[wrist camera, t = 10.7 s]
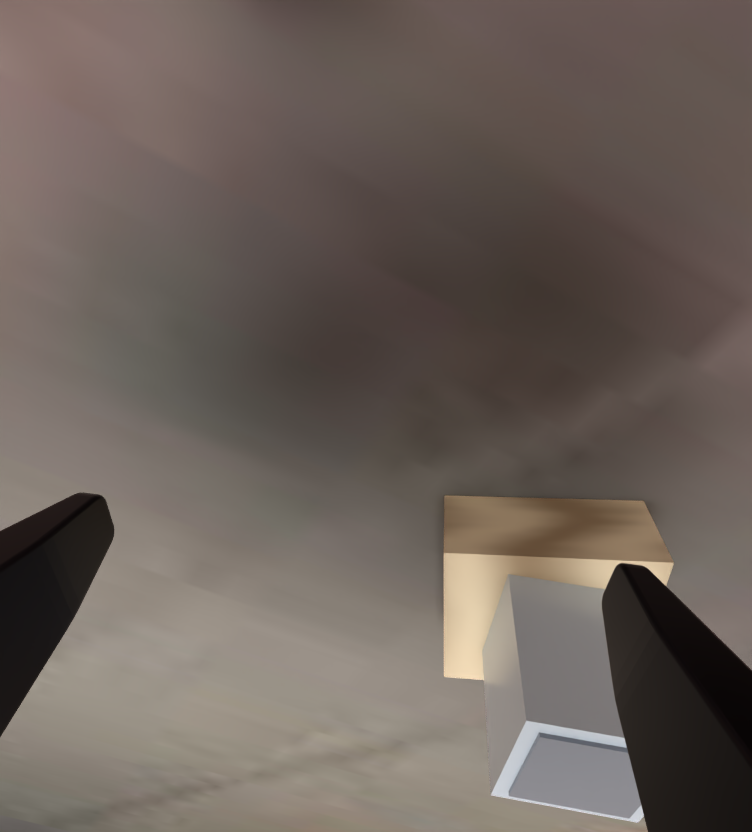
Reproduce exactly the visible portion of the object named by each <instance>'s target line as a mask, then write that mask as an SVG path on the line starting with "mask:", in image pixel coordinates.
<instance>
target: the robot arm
mask: <svg viewBox="0 0 752 832" xmlns="http://www.w3.org/2000/svg"><path fill="white" fill-rule="evenodd" d="M113 537H114V525H113V522H112V519H111V516H110V512H109V509H108V506H107V503H106V500H105V498H104V497H103V496H101V495H98V494H90V493H77V494H74V495H72V496H70V497H68V498H66V499H64V500H62V501H60V502H58V503H56V504H54V505H52V506H50V507H48V508H46V509H44V510H42V511H40V512H38V513H36V514H34V515H32V516H30V517H28V518H26V519H24V520H22V521H20V522H18V523H16V524H14V525H12V526H10V527H8V528H5V529H3V530H1V531H0V737H1V735H2V733H3V732H4V730H5V729H6V727H7V725H8V724H9V722H10V721H11V719H12V717H13V716H14V714H15V713H16V711H17V709H18V708H19V706H20V704H21V703H22V701H23V700H24V698H25V696H26V695H27V693H28V692H29V690H30V688H31V687H32V685H33V684H34V682H35V680H36V679H37V677H38V675H39V674H40V672H41V671H42V669H43V667H44V666H45V664H46V663H47V661H48V659H49V658H50V656H51V655H52V653H53V651H54V650H55V648H56V647H57V645H58V643H59V642H60V640H61V638H62V637H63V635H64V634H65V632H66V630H67V629H68V627H69V625H70V624H71V622H72V620H73V619H74V617H75V615H76V613H77V611H78V609H79V607H80V605H81V603H82V601H83V599H84V597H85V595H86V593H87V591H88V589H89V587H90V585H91V583H92V581H93V579H94V577H95V575H96V573H97V571H98V569H99V567H100V565H101V563H102V561H103V559H104V557H105V555H106V553H107V551H108V549H109V547H110V545H111V542H112V540H113ZM602 613H603V620H604V628H605V635H606V642H607V649H608V656H609V663H610V670H611V677H612V684H613V690H614V696H615V702H616V706H617V710H618V715H619V719H620V723H621V727H622V731H623V735H624V739H625V743H626V747H627V751H628V755H629V758H630V762H631V766H632V770H633V774H634V778H635V782H636V786H637V790H638V794H639V798H640V802H641V806H642V810H643V814H644V818H645V822H646V826H647V830H648V832H752V670H751V669H750V668H749V667H748V666H747V665H746V664H745V663H744V662H743V661H742V660H741V659H740V658H739V657H738V656H737V655H736V654H735V653H734V652H733V651H732V650H731V649H729V648H728V647H727V646H726V645H725V644H724V643H723V642H722V641H721V640H720V639H719V638H718V637H717V636H716V635H715V634H714V633H713V632H712V631H711V630H710V629H709V628H708V627H707V626H706V625H705V624H704V623H703V622H702V621H701V620H700V619H699V618H698V617H697V616H696V615H695V614H694V613H693V612H692V611H691V610H690V609H689V608H688V607H687V606H686V605H685V604H684V603H683V602H682V601H681V600H680V599H679V598H678V597H677V596H676V595H675V594H673V593H672V592H671V591H670V590H669V589H668V588H667V587H666V586H665V585H664V584H663V583H662V582H661V581H660V580H659V579H658V578H657V577H656V576H655V575H654V574H653V573H652V572H651V571H650V570H649V569H648V568H646V567H645V566H642V565H635V564H627V563H619V564H618V565H617V566H616V567H615V569H614V571H613V573H612V575H611V577H610V580H609V582H608V584H607V586H606V589H605V591H604V593H603V596H602Z"/></svg>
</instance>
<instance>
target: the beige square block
mask: <svg viewBox="0 0 752 832" xmlns="http://www.w3.org/2000/svg"><path fill="white" fill-rule="evenodd" d="M619 563H627V564H635V565H642V566H645V567H646V568H648V569H649V570H650V571H651V572H652V573H653V574H654V575H655V576H656V577H657V578H658V579H659V580H660V581H661V582H662V583H663V584H664V585H665V586H666V585H667V582H668V579H669V576H670V573H671V570H672V567H673V564H674V562H673V560H672V558H671V556H670V554H669V552H668V550H667V548H666V546H665V544H664V542H663V540H662V537H661V535H660V533H659V531H658V529H657V527H656V525H655V523H654V521H653V519H652V517H651V515H650V513H649V511H648V509H647V507H646V505H645V503H644V501H631V500H594V499H557V498H520V497H483V496H446V495H445V497H444V677H452V678H465V679H477V680H484V673H483V656H482V650H483V647H484V644H485V641H486V638H487V635H488V632H489V629H490V626H491V623H492V620H493V617H494V614H495V611H496V608H497V605H498V603H499V600H500V597H501V594H502V591H503V588H504V585H505V582H506V579H507V576H508V574H511V575H517V576H524V577H530V578H536V579H543V580H549V581H555V582H562V583H568V584H574V585H580V586H587V587H593V588H599V589H606V586H607V584H608V582H609V580H610V577H611V575H612V573H613V571H614V569H615V567H616V566H617V565H618V564H619Z"/></svg>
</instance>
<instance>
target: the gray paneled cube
mask: <svg viewBox="0 0 752 832" xmlns="http://www.w3.org/2000/svg"><path fill="white" fill-rule="evenodd" d="M604 591H605V589H599V588H593V587H587V586H580V585H574V584H568V583H562V582H555V581H549V580H543V579H536V578H530V577H524V576H517V575H511V574H508V576H507V579H506V582H505V585H504V588H503V591H502V594H501V597H500V600H499V603H498V605H497V608H496V611H495V614H494V617H493V620H492V623H491V626H490V629H489V632H488V635H487V638H486V641H485V644H484V647H483V650H482V656H483V673H484V690H485V707H486V724H487V741H488V758H489V776H490V793H491V795H492V796H498V797H503V798H508V799H514V800H519V801H525V802H530V803H535V804H541V805H546V806H551V807H557V808H562V809H567V810H573V811H578V812H583V813H589V814H594V815H599V816H605V817H610V818H616V819H621V820H626V821H632V822H637V823H638V822H639V821H640V820H641V819H642V817H643V816H644V814H643V810H642V806H641V802H640V798H639V794H638V790H637V786H636V782H635V778H634V774H633V770H632V766H631V762H630V758H629V755H628V751H627V747H626V743H625V739H624V735H623V731H622V727H621V723H620V719H619V715H618V710H617V706H616V702H615V696H614V690H613V684H612V677H611V670H610V663H609V656H608V649H607V642H606V635H605V628H604V620H603V613H602V596H603V593H604Z"/></svg>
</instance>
